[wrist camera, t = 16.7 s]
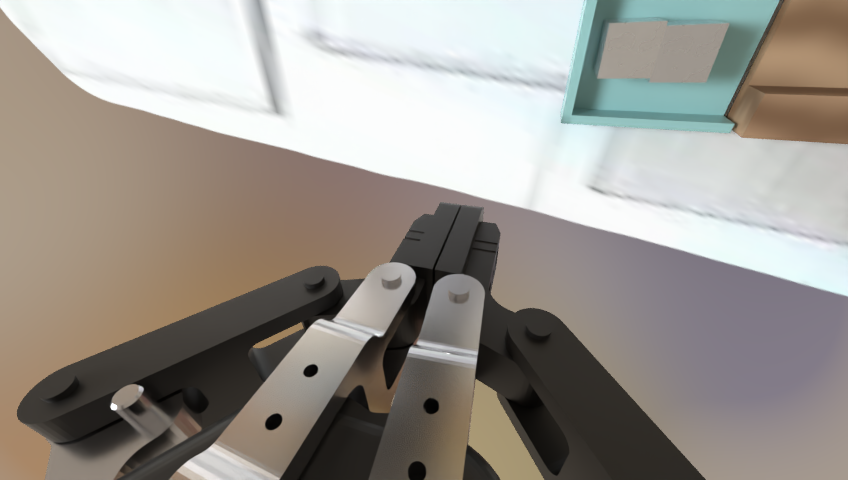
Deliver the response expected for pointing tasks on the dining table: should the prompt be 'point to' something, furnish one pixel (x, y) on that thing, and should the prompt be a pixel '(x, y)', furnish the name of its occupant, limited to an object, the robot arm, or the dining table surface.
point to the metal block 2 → (688, 51)
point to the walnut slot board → (798, 77)
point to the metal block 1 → (629, 47)
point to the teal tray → (663, 102)
